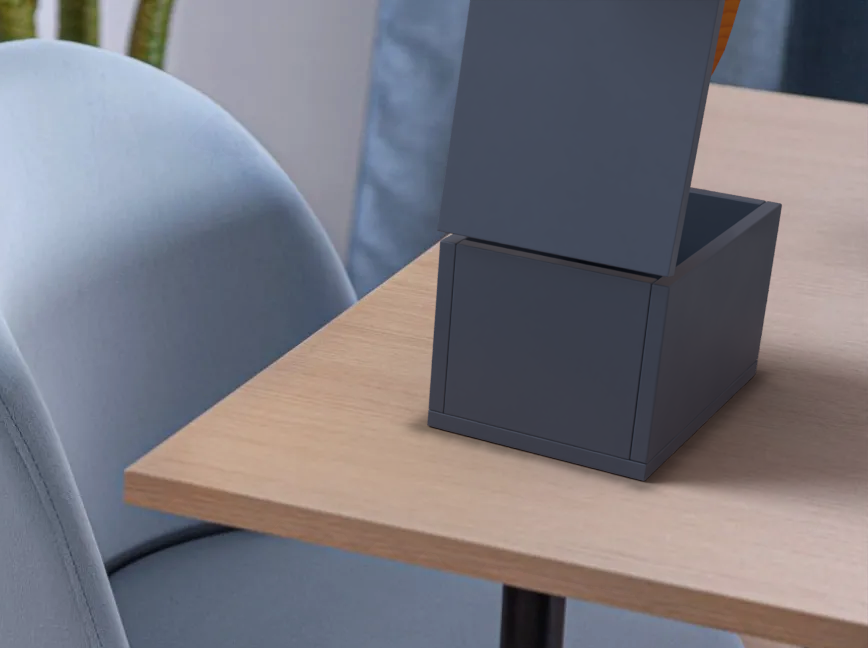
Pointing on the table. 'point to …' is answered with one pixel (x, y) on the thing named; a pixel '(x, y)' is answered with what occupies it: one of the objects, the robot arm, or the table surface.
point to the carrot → (725, 29)
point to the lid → (580, 126)
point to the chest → (602, 340)
